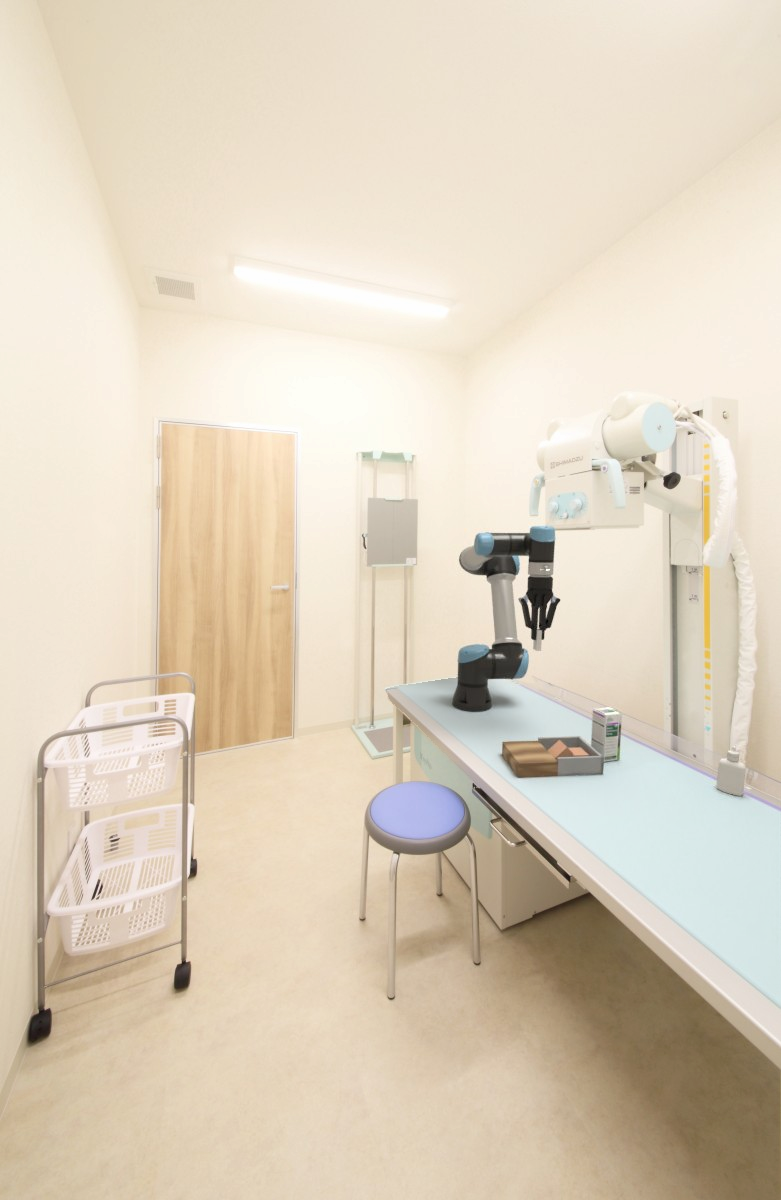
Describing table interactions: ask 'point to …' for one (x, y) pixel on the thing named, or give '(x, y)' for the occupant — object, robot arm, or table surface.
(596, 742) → the syrup box
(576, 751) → the tile
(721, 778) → the eye dropper bottle
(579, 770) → the bin
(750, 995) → the table surface
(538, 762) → the board
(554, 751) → the tile
